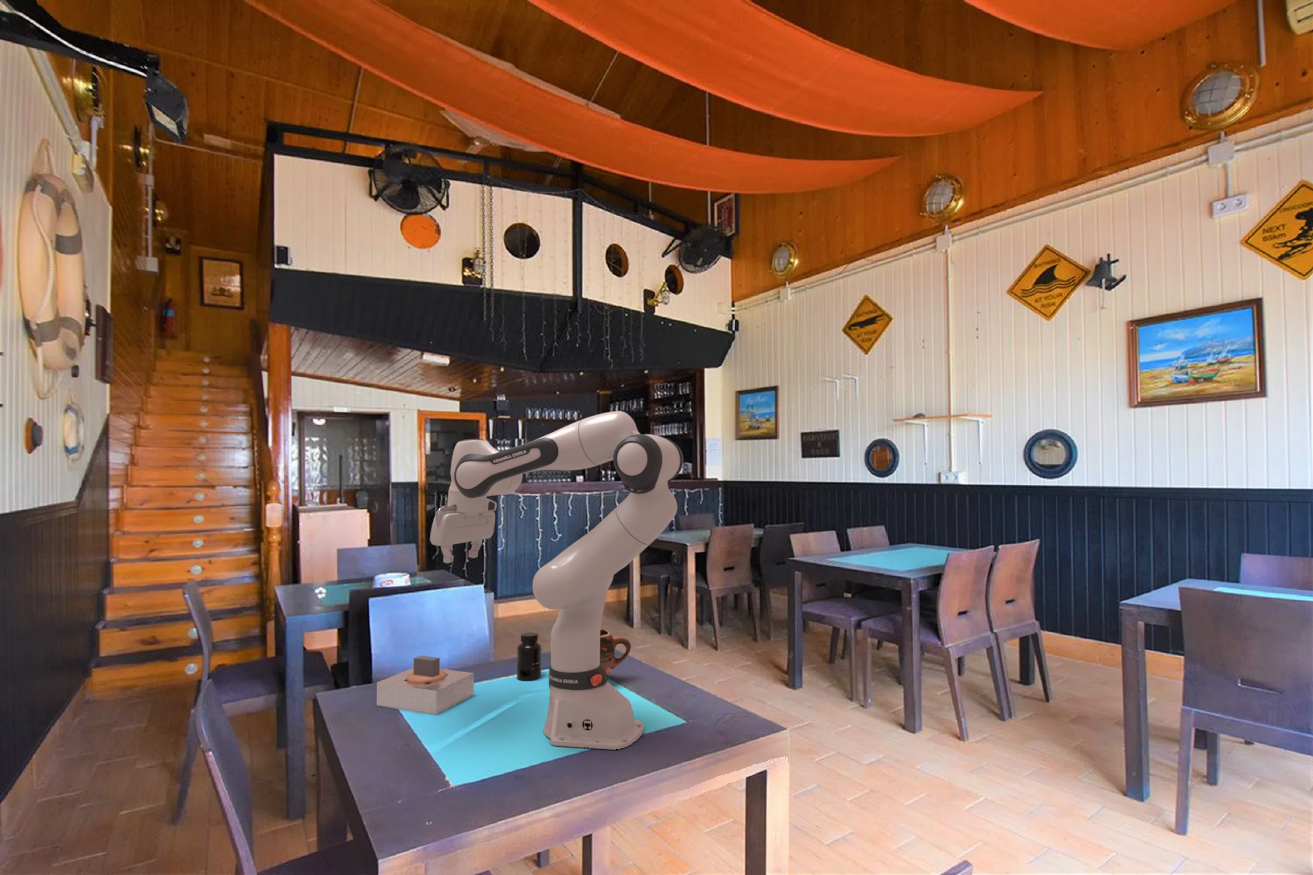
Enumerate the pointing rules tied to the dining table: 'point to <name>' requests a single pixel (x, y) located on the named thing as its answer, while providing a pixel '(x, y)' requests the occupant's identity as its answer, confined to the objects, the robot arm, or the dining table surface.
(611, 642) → the brown ceramic cup shape
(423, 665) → the end cover
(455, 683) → the housing
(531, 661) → the supplement bottle
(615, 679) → the dining table surface
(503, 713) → the dining table surface
